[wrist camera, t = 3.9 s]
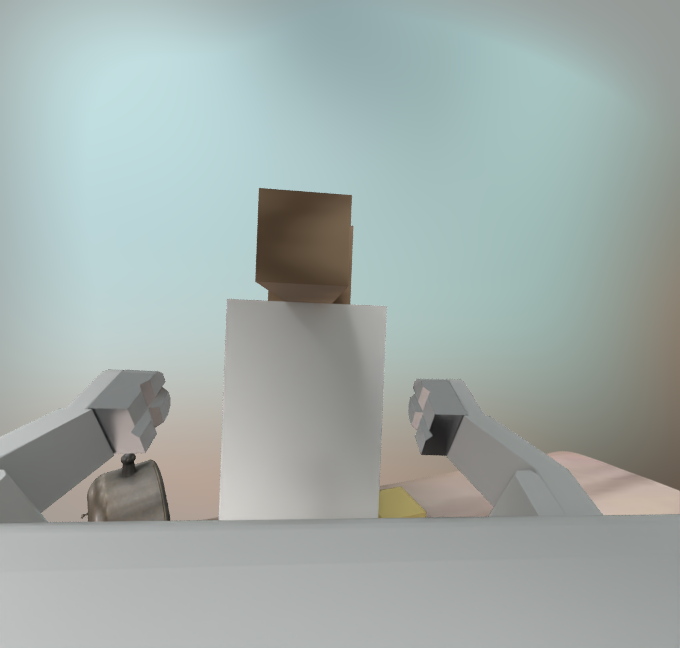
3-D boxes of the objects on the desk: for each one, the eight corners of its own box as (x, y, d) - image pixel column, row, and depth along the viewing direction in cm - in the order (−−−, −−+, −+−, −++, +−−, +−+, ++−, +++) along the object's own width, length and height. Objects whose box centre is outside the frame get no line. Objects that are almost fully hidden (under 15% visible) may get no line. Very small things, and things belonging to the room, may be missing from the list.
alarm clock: (175, 656, 21) (184, 432, 21) (75, 721, 18) (84, 452, 18) (149, 560, 29) (155, 398, 29) (77, 591, 26) (83, 407, 26)
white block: (213, 649, 22) (227, 298, 22) (249, 532, 34) (258, 307, 34) (373, 640, 23) (386, 306, 23) (353, 530, 35) (361, 311, 35)
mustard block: (382, 570, 29) (384, 521, 29) (361, 536, 34) (363, 493, 34) (424, 558, 31) (426, 512, 31) (399, 527, 36) (400, 486, 36)
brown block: (207, 279, 11) (214, 89, 11) (279, 307, 33) (281, 245, 33) (392, 288, 11) (400, 108, 11) (341, 310, 33) (344, 248, 33)
